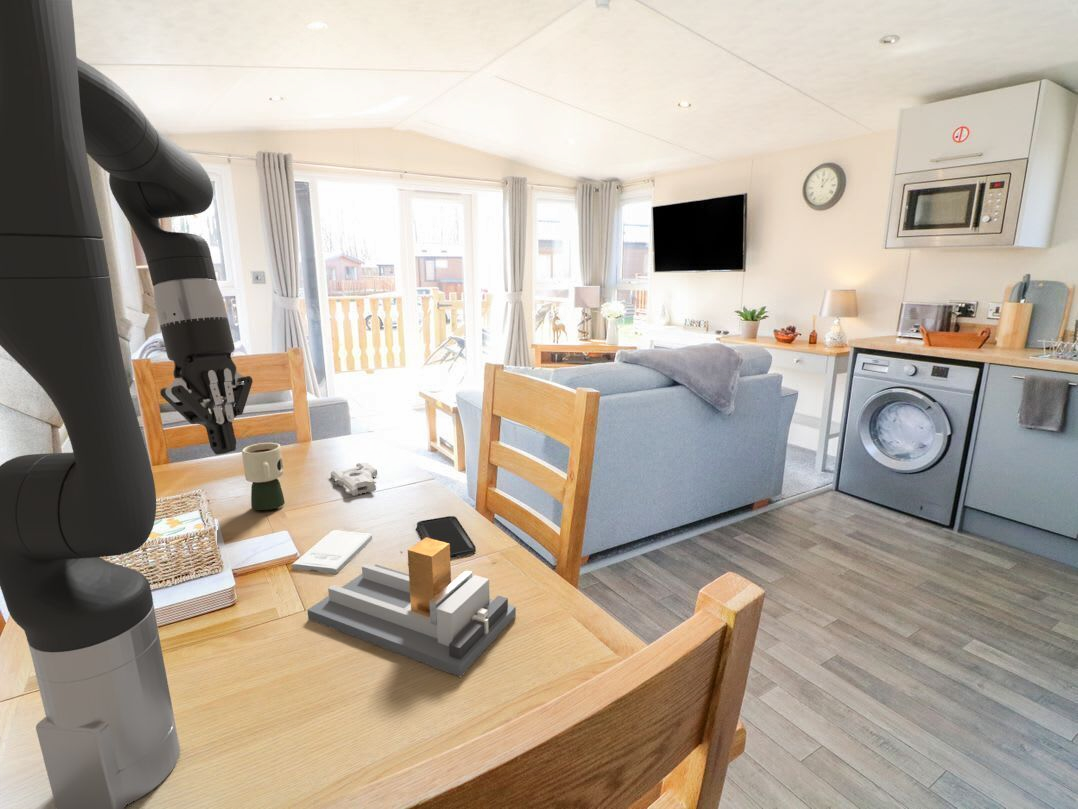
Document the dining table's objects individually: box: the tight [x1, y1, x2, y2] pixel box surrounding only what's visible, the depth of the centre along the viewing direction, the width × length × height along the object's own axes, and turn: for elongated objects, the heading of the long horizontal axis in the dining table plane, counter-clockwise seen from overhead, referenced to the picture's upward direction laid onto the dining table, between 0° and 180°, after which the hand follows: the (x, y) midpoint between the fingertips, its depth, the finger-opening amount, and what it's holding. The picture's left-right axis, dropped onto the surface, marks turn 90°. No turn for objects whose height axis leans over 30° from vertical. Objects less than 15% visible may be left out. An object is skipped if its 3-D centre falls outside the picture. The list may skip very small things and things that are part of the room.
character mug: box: [241, 442, 286, 511], centre depth 116 cm, size 11×7×13 cm, turn 32°
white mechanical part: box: [330, 462, 378, 497], centre depth 131 cm, size 18×3×10 cm
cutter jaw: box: [404, 538, 473, 625], centre depth 78 cm, size 7×8×10 cm
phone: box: [416, 515, 477, 560], centre depth 105 cm, size 8×1×15 cm
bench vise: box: [307, 563, 517, 677], centre depth 81 cm, size 26×14×6 cm, turn 63°
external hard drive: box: [291, 529, 373, 575], centre depth 99 cm, size 2×8×12 cm
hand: (225, 452), depth 74 cm, fingers closed
